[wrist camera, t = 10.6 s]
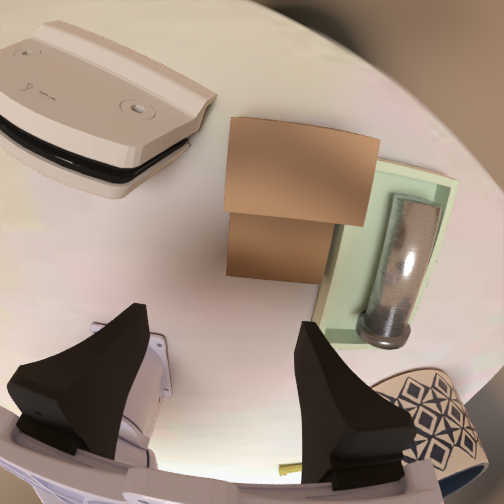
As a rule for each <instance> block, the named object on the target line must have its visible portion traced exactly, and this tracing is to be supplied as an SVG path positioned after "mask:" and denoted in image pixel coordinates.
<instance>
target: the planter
mask: <svg viewBox="0 0 504 504" xmlns="http://www.w3.org/2000/svg"><path fill="white" fill-rule="evenodd" d="M372 389H373V390H374V391H375V392H376V393H378V394H379V395H381V396H382V397H383V398H385V399H386V400H388V401H390V402H391V403H393V404H394V405H396V406H398V407H400V408H402V409H404V410H405V411H407V412H409V413H410V414H411V416H412V418H413V421H414V424H415V427H416V430H417V434H416V437H415V438H414V440H413V441H412V442H411V443H410V444H409V445H408V446H407V447H406V448H405V449H404V450H403V451H402V452H403V455H404V459H403V460H402V461H401V462H402V466H405V465H407V464H410V463H413V462H417V461H421V460H425V459H431V461H432V464H433V467H434V470H435V473H436V476H437V480H438V483H439V486H440V490H441V493H442V497H443V499H444V498H446V497H447V496H449V495H451V494H453V493H455V492H456V491H458V490H460V489H461V488H463V487H465V486H466V485H468V484H469V483H470V482H472V481H473V480H475V479H476V478H477V477H478V476H480V475H481V474H482V473H483V472H484V471H485V470H486V468H487V467H488V460H487V457H486V455H485V452H484V450H483V447H482V445H481V443H480V440H479V438H478V436H477V433H476V431H475V429H474V427H473V424H472V422H471V420H470V418H469V416H468V414H467V412H466V409H465V407H464V405H463V403H462V401H461V399H460V397H459V395H458V393H457V391H456V389H455V388H454V386H453V384H452V382H451V380H450V378H449V377H448V376H447V375H446V374H445V373H443V372H441V371H438V370H419V371H413V372H409V373H405V374H402V375H399V376H397V377H394V378H391V379H389V380H387V381H385V382H383V383H381V384H379V385H377V386H375V387H373V388H372Z"/></svg>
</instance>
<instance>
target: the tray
mask: <svg viewBox="0 0 504 504" xmlns="http://www.w3.org/2000/svg"><path fill="white" fill-rule="evenodd" d="M458 183H459V181H457V180H455V179H453V178H451V177H448V176H446V175H444V174H442V173H438V172H435V171H431V170H427V169H424V168H420V167H416V166H412V165H408V164H404V163H400V162H395V161H391V160H387V159H382V158H378V157H377V163H376V168H375V174H374V179H373V184H372V189H371V194H370V199H369V204H368V208H367V213H366V217H365V222H364V226H363V227H359V226H351V225H343V224H335V226H334V231H333V236H332V241H331V245H330V250H329V254H328V259H327V263H326V268H325V272H324V276H323V280H322V284H320V288H319V292H318V296H317V300H316V304H315V308H314V312H313V316H312V320H311V322H316V324H317V325H318V327H319V328H320V330H321V331H322V333H323V334H324V336H325V337H326V339H327V340H328V341H329V343H330V344H331V346H332V347H333V348H334V349H380V348H377V347H374V346H372V345H370V344H368V343H366V342H365V341H364V340H362V339H361V338H360V337H359V335H358V334H357V332H356V323H357V319H358V316H359V314H360V313H361V312H362V311H364V310H366V309H367V307H368V304H369V300H370V297H371V293H372V290H373V286H374V282H375V279H376V275H377V271H378V267H379V263H380V259H381V255H382V251H383V246H384V242H385V237H386V233H387V228H388V223H389V219H390V213H391V208H392V203H393V197H394V194H396V193H400V194H408V195H413V196H417V197H420V198H424V199H427V200H430V201H433V202H435V203H437V204H439V205H441V206H442V211H441V216H440V220H439V224H438V228H437V232H436V236H435V240H434V244H433V248H432V252H431V255H430V259H429V262H428V265H427V269H426V272H425V275H424V279H423V282H422V285H421V288H420V291H419V294H418V297H417V299H416V302H415V305H414V308H413V311H412V313H411V316H410V319H409V321H408V324H409V325H410V324H411V322H412V320H413V317H414V315H415V313H416V311H417V308H418V306H419V304H420V301H421V299H422V296H423V294H424V291H425V289H426V286H427V284H428V281H429V279H430V276H431V273H432V271H433V268H434V265H435V262H436V259H437V257H438V254H439V251H440V248H441V245H442V241H443V238H444V235H445V232H446V228H447V225H448V222H449V218H450V215H451V211H452V207H453V203H454V199H455V195H456V191H457V187H458Z"/></svg>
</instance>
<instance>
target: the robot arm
mask: <svg viewBox="0 0 504 504" xmlns="http://www.w3.org/2000/svg"><path fill="white" fill-rule="evenodd" d="M90 329H91V333H92V336H90V337H89V338H87V339H86V340H84V341H82V342H80V343H79V344H77V345H75V346H73V347H71V348H69V349H67V350H65V351H63V352H61V353H59V354H56V355H54V356H51V357H49V358H46V359H43V360H40V361H37V362H33V363H29V364H25V365H20V366H19V367H18V369H17V370H16V372H15V373H14V375H13V376H12V378H11V379H10V381H9V382H8V384H7V389H8V393H9V394H10V396H11V398H12V399H13V401H14V402H15V404H16V405H17V406H18V408H19V409H20V411H21V412H22V414H21V416H20V418H19V417H18V416H17V415H16V414H14V413H13V412H11V411H9V410H7V409H5V408H3V407H2V406H0V465H1V466H3V467H4V468H5V469H6V470H8V471H10V472H11V473H13V474H15V475H16V476H18V477H19V478H21V479H23V480H24V481H26V482H28V483H29V484H31V485H32V487H33V488H34V490H35V492H36V493H37V495H38V496H39V498H40V499H41V501H42V504H443V503H444V501H443V497H442V493H441V490H440V486H439V483H438V480H437V476H436V473H435V470H434V467H433V464H432V461H431V459H425V460H421V461H417V462H413V463H410V464H407V465H405V466H402V462H401V461H402V460H403V459H404V455H403V452H402V451H403V450H404V449H405V448H406V447H407V446H408V445H409V444H410V443H411V442H412V441H413V440H414V438H415V437H416V434H417V430H416V427H415V424H414V421H413V418H412V416H411V414H410V413H409V412H407V411H405V410H404V409H402V408H400V407H398V406H396V405H394V404H393V403H391V402H390V401H388V400H386V399H385V398H383V397H382V396H381V395H379V394H378V393H376V392H375V391H374V390H373V389H371V388H370V387H369V386H368V385H366V384H365V383H364V382H363V381H362V380H361V379H360V378H359V377H358V376H357V375H356V374H355V373H354V372H353V371H352V370H351V369H350V368H349V367H348V366H347V365H346V364H345V362H344V361H343V360H342V359H341V358H340V356H339V355H338V354H337V352H336V351H335V350H334V348H333V347H332V346H331V344H330V343H329V341H328V340H327V339H326V337H325V336H324V334H323V333H322V331H321V330H320V328H319V327H318V325H317V324H316V322H310V321H302V324H301V328H300V332H299V336H298V340H297V343H296V347H295V351H294V367H295V377H296V383H297V390H298V396H299V402H300V408H301V417H302V479H301V484H285V485H274V484H245V483H231V482H227V481H222V480H217V479H211V478H203V477H196V476H189V475H183V474H177V473H172V472H166V471H161V470H158V465H157V461H156V457H155V454H154V452H153V451H152V450H150V449H148V444H149V441H150V438H151V436H152V433H153V430H154V426H155V423H156V419H157V415H158V412H159V408H160V405H161V401H162V398H163V396H164V397H171V396H172V388H171V381H170V374H169V367H168V360H167V352H166V344H165V338H164V337H162V336H160V335H154V334H150V331H149V324H148V317H147V309H146V305H145V304H138V303H133V304H132V305H131V306H129V307H128V308H127V309H126V310H124V311H123V312H122V313H121V314H119V315H118V316H117V317H116V318H115V319H113V320H112V321H111V322H109V323H108V324H107V325H106V326H105V325H100V324H95V323H93V324H91V326H90ZM95 331H96V332H95ZM159 343H160V344H161V345H160V344H159Z"/></svg>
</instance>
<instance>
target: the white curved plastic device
mask: <svg viewBox="0 0 504 504" xmlns="http://www.w3.org/2000/svg"><path fill="white" fill-rule="evenodd" d="M216 96H217V94H215V93H214V92H212V91H210V90H209V89H207V88H205V87H203V86H202V85H200V84H198V83H196V82H194V81H193V80H191V79H189V78H187V77H185V76H183V75H182V74H180V73H178V72H176V71H174V70H172V69H170V68H168V67H166V66H164V65H162V64H160V63H158V62H156V61H154V60H152V59H150V58H148V57H146V56H144V55H142V54H140V53H138V52H136V51H133V50H131V49H129V48H127V47H125V46H122V45H120V44H118V43H116V42H113V41H111V40H108V39H106V38H104V37H101V36H99V35H96V34H94V33H91V32H89V31H86V30H84V29H81V28H78V27H75V26H73V25H70V24H67V23H64V22H61V21H58V20H57V21H53V22H48V23H44V24H42V25H41V26H40V27H39V29H38V30H37V31H36V32H35V33H34V34H33V36H32V37H30V38H29V39H26V40H23V41H21V42H18V43H16V44H13V45H11V46H8V47H6V48H4V49H2V50H0V146H1V147H2V148H3V149H4V150H5V151H6V152H8V153H9V154H10V155H11V156H13V157H14V158H16V159H17V160H19V161H20V162H22V163H23V164H25V165H26V166H28V167H30V168H32V169H33V170H35V171H37V172H39V173H41V174H43V175H45V176H47V177H49V178H51V179H53V180H56V181H58V182H60V183H63V184H65V185H68V186H70V187H73V188H76V189H79V190H82V191H85V192H87V193H91V194H94V195H98V196H101V197H105V198H108V199H121V198H123V197H125V196H126V195H128V194H129V193H130V192H131V191H133V190H134V189H135V188H137V187H138V186H139V185H141V184H142V183H143V182H145V181H146V180H147V179H149V178H150V177H152V176H153V175H154V174H156V173H157V172H159V171H160V170H161V169H163V168H164V167H166V166H167V165H168V164H170V163H171V162H173V161H174V160H176V159H177V158H179V157H180V156H181V155H182V154H183V153H184V152H185V151H186V150H187V148H188V147H189V146H190V145H189V144H188V143H186V142H187V139H186V137H188V136H189V135H191V134H193V133H195V132H196V131H198V130H199V128H200V125H201V122H202V119H203V116H204V113H205V110H206V107H207V106H208V105H209V104H211V103H212V102H213V101H214V100H215V98H216Z"/></svg>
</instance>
